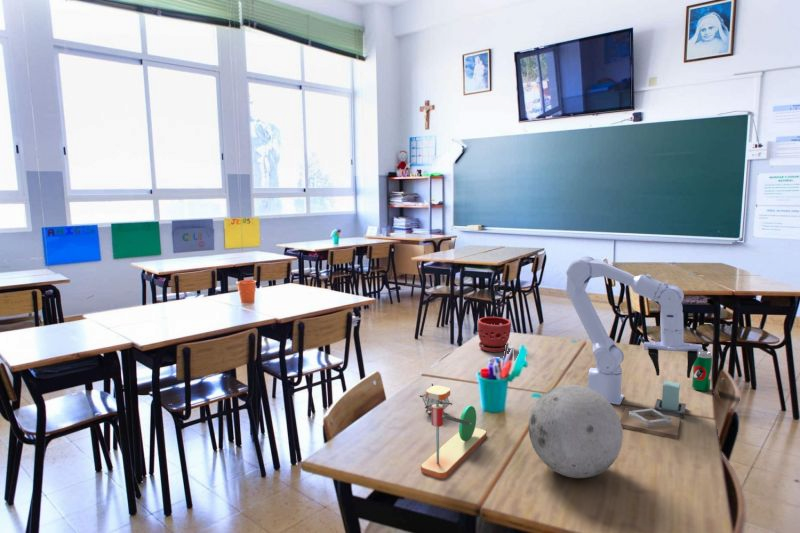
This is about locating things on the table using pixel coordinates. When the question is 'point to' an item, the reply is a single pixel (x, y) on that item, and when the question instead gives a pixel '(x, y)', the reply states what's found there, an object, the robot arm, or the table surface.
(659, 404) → the stand socket
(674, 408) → the teal peg
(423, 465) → the crank mechanism
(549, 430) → the moon model
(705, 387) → the soda can
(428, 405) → the grey wire strut frame
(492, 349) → the plant pot
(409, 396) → the table surface
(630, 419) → the socket board
